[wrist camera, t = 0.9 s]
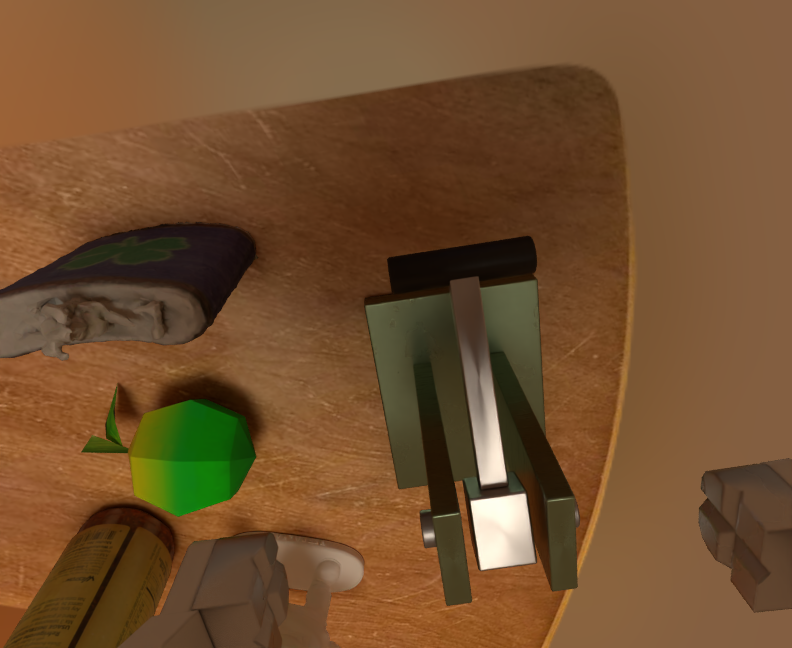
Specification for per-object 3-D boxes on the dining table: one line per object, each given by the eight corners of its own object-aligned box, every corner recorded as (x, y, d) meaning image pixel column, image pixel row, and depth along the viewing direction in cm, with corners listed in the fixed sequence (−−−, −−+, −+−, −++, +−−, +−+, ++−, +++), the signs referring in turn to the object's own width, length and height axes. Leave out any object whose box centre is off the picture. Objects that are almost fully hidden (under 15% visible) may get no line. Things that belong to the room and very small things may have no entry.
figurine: (374, 525, 36) (372, 720, 25) (355, 598, 38) (346, 806, 27) (231, 504, 35) (163, 698, 24) (222, 581, 37) (155, 788, 26)
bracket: (364, 297, 30) (355, 433, 18) (531, 271, 29) (635, 393, 17) (397, 477, 34) (408, 679, 22) (542, 456, 34) (630, 650, 22)
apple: (237, 512, 26) (34, 505, 25) (256, 527, 31) (91, 522, 31) (257, 369, 29) (78, 359, 28) (271, 406, 34) (122, 399, 34)
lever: (388, 259, 22) (385, 255, 20) (523, 238, 22) (536, 232, 20) (432, 548, 23) (435, 578, 21) (564, 530, 23) (582, 558, 20)
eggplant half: (87, 287, 29) (-65, 388, 19) (69, 232, 28) (-102, 308, 18) (263, 271, 29) (203, 363, 19) (252, 215, 28) (183, 282, 18)
